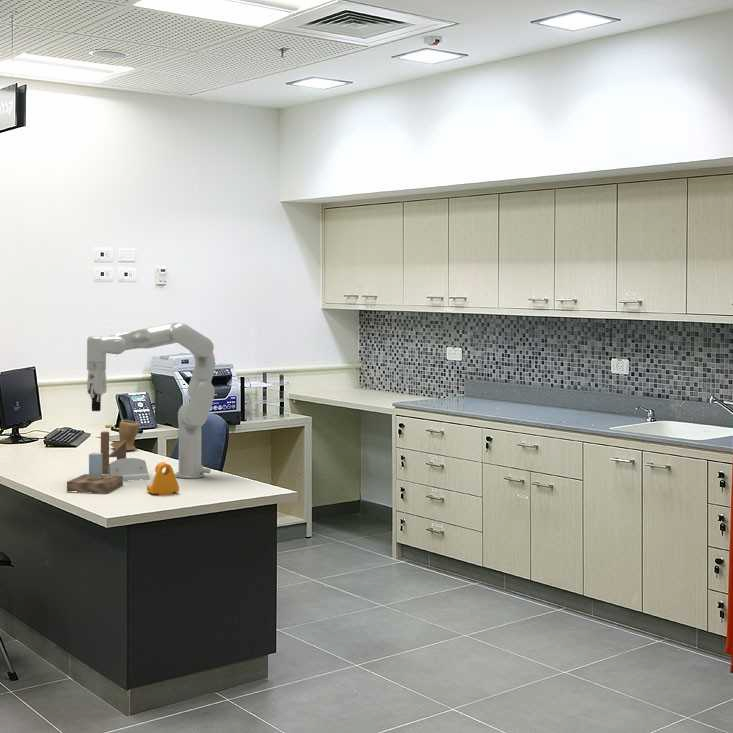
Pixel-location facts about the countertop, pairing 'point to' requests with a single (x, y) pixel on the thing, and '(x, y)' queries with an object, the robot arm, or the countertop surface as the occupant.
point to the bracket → (163, 481)
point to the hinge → (129, 469)
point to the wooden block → (118, 452)
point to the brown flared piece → (127, 434)
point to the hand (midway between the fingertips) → (96, 410)
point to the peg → (95, 466)
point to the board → (95, 484)
